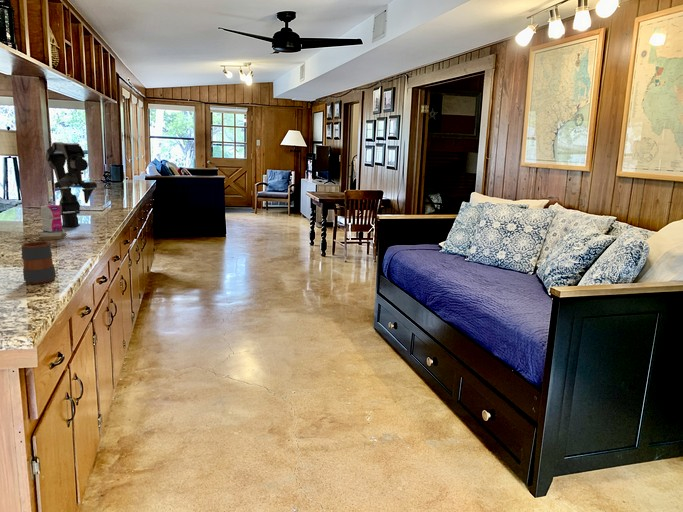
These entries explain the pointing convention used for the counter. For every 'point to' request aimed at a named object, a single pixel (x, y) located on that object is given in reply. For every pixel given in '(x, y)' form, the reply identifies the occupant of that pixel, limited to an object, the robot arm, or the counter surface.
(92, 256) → the counter surface
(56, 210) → the supplement box
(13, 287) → the counter surface
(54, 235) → the pedestal
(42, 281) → the banded dark cylinder
